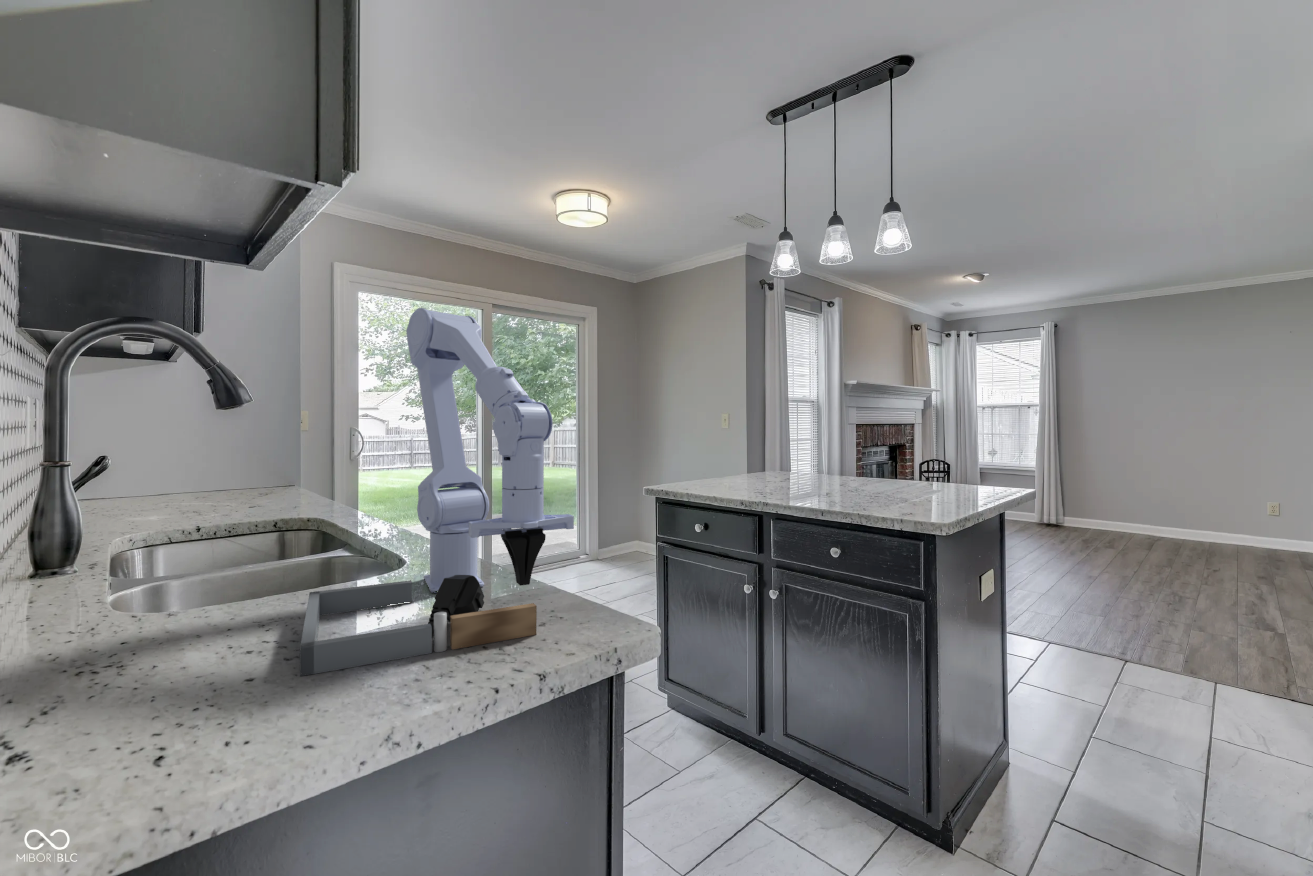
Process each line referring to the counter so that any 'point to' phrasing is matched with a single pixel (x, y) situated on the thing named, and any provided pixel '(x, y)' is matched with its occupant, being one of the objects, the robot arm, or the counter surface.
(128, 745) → the counter surface
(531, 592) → the counter surface
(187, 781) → the counter surface
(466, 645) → the gate
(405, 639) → the grey rectangular frame
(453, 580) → the power plug
